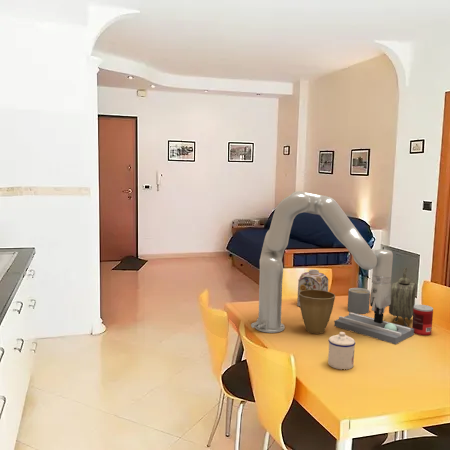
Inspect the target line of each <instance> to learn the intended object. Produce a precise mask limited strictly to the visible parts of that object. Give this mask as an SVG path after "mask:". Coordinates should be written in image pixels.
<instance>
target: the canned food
mask: <svg viewBox="0 0 450 450" xmlns="http://www.w3.org/2000/svg"><path fill="white" fill-rule="evenodd" d="M433 318H434V308H433V307H432V306H429V305H428V304H426V305H425V304H415V305H414V307H413V316H412V320H411V321H412V325H411V328H413V329H414V335H417V336H425V337H426V336H427V337H428V336H430V335H431V334H432V331H433V320H434V319H433Z"/></svg>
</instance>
